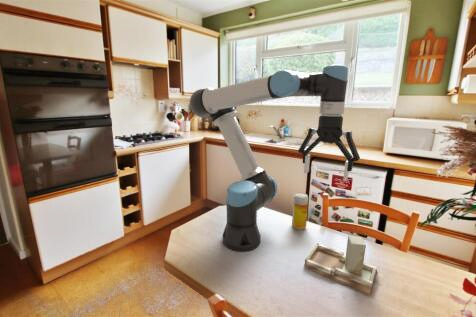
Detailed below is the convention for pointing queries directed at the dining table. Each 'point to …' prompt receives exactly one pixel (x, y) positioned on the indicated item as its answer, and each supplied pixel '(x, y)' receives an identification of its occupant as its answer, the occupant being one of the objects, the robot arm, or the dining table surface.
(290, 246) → the dining table surface
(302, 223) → the glass of beer
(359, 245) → the box
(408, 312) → the dining table surface
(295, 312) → the dining table surface
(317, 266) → the shallow beige tray
